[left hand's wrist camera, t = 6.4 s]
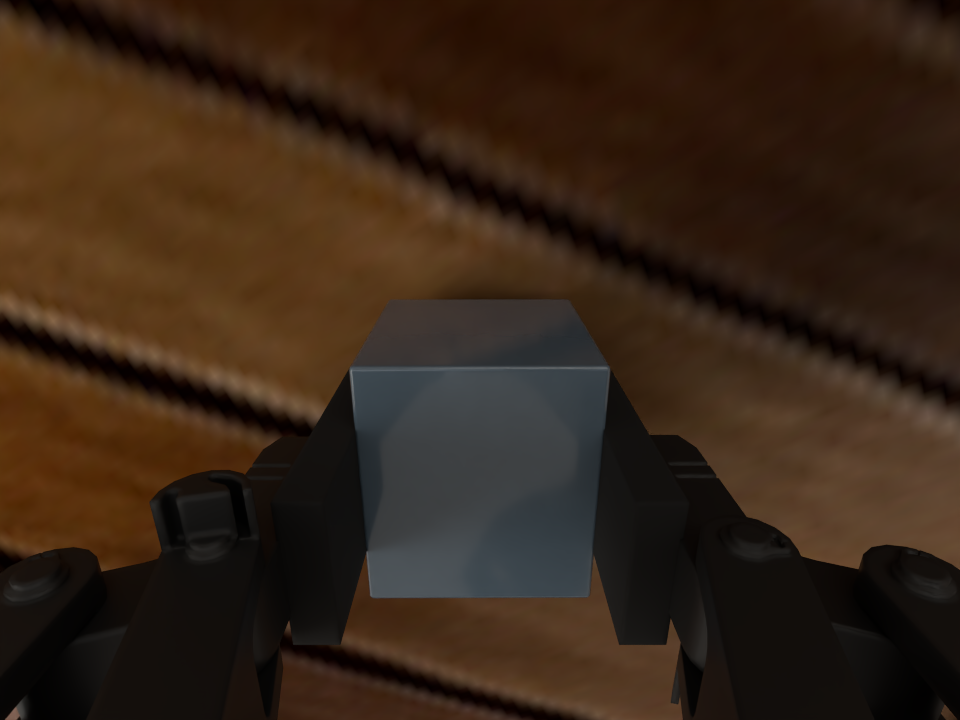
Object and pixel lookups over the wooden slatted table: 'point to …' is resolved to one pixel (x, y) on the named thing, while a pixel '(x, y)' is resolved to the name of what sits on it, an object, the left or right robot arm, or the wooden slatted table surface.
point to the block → (479, 448)
